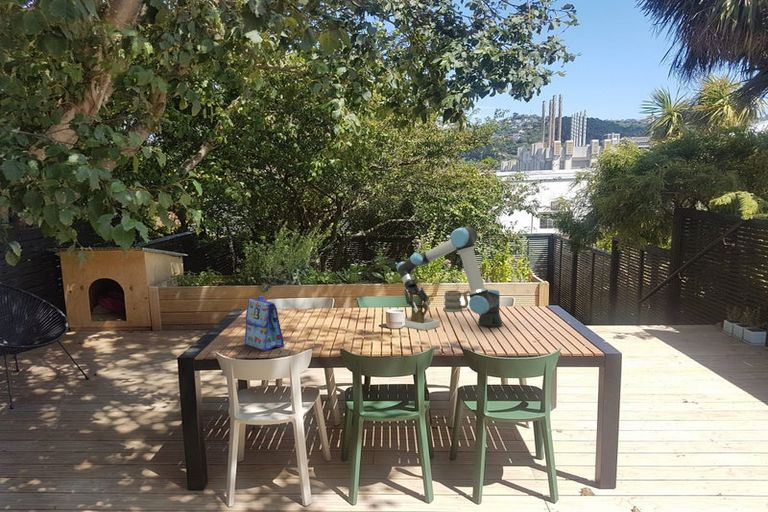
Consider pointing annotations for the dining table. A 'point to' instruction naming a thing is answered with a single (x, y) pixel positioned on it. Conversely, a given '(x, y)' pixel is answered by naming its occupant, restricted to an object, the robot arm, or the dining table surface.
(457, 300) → the tankard
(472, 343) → the dining table surface
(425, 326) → the mug tray
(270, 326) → the lunch bag
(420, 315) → the wooden mug
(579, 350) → the dining table surface
